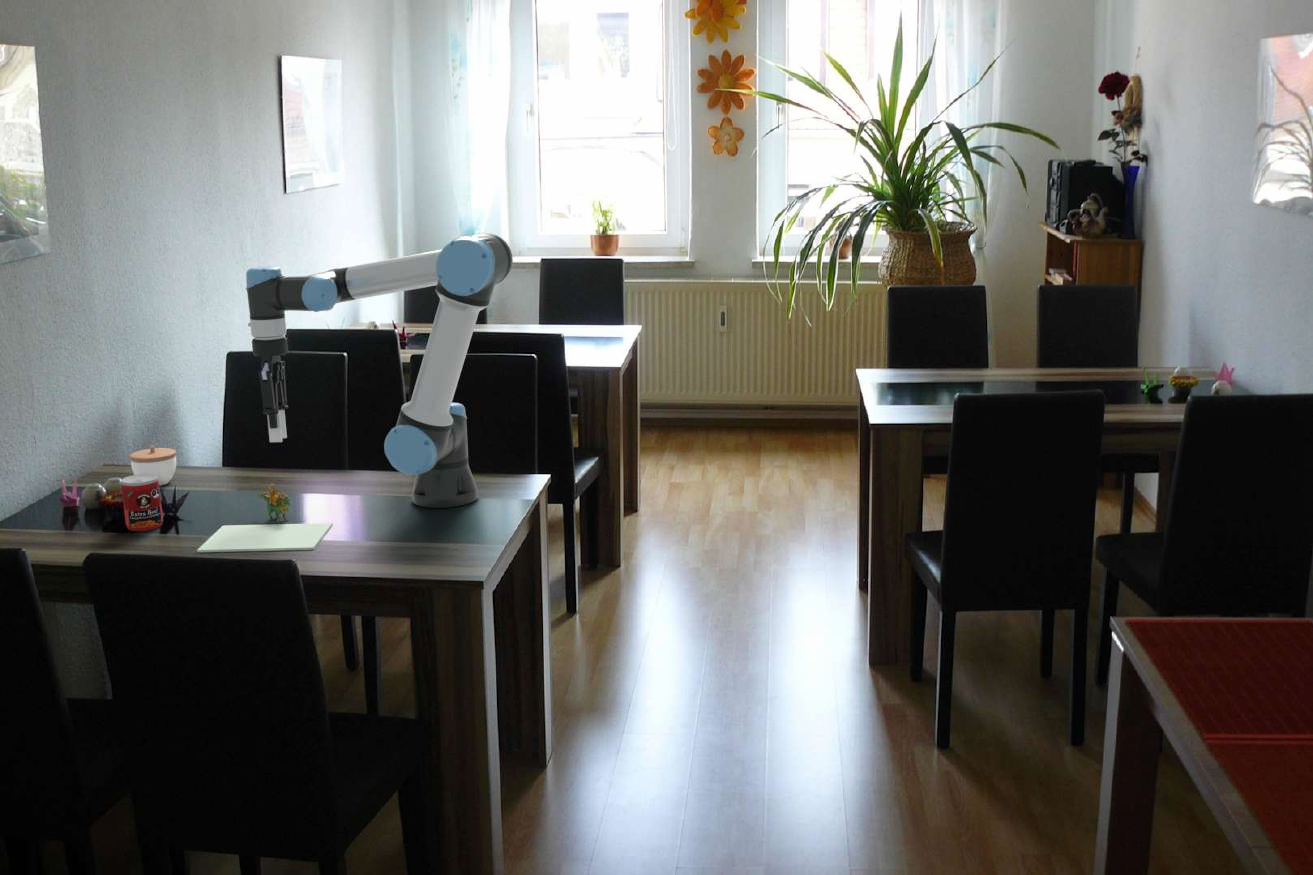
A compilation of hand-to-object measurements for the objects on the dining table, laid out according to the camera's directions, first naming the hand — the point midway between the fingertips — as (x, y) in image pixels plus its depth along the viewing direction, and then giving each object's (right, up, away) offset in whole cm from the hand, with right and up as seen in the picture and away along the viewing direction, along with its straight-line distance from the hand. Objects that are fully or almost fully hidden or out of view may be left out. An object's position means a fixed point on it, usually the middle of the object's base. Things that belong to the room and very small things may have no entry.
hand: (278, 439), depth 290 cm
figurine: (0, -18, -3) cm, 18 cm away
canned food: (-28, -19, -7) cm, 34 cm away
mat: (+3, -21, -17) cm, 27 cm away
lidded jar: (-39, -11, +29) cm, 50 cm away
